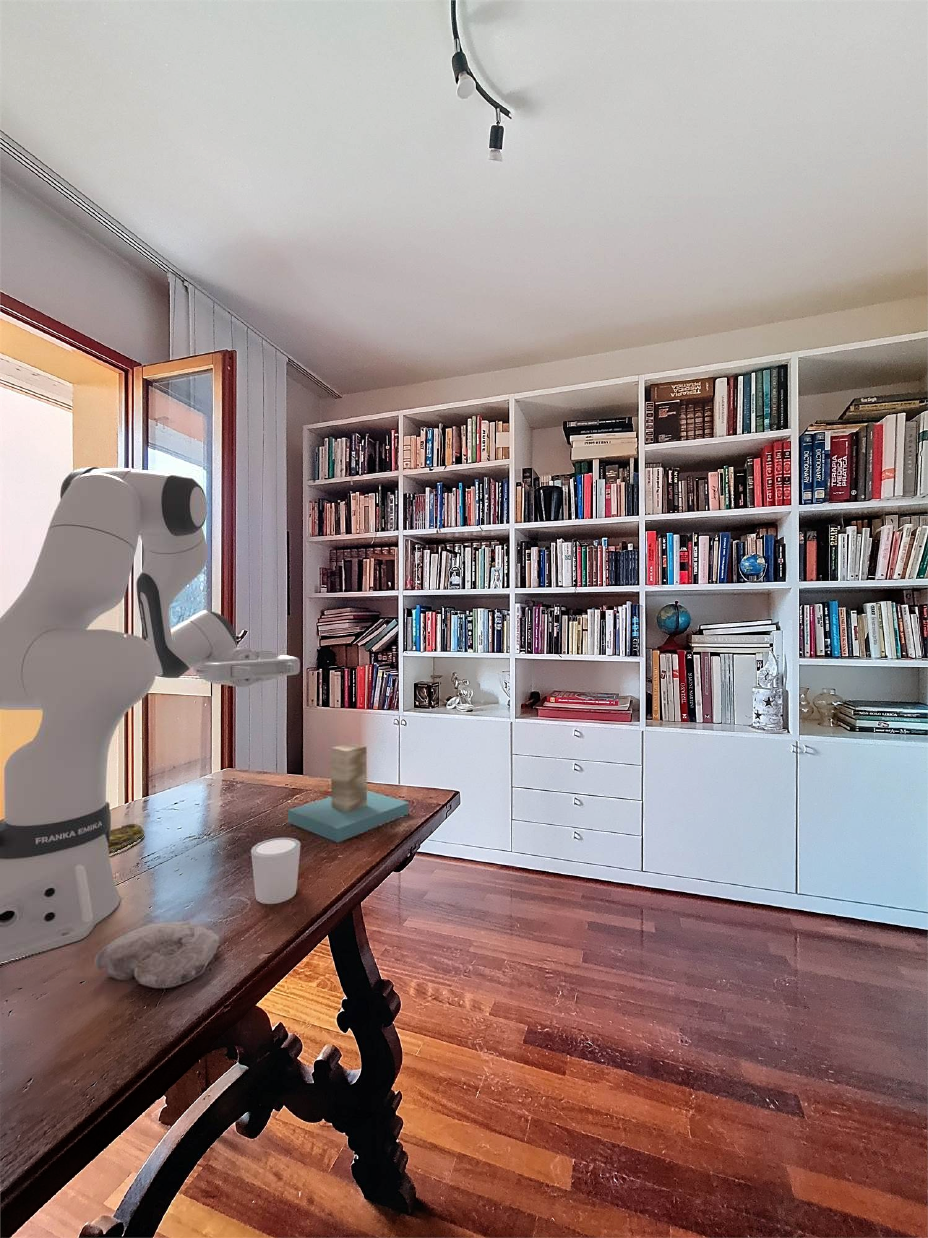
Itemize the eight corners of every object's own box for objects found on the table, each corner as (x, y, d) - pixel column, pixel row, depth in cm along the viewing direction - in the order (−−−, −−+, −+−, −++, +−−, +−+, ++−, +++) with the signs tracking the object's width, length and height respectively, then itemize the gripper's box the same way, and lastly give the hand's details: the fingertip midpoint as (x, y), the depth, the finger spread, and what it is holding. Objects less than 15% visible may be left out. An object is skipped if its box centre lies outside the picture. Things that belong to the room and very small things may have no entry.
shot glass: (291, 906, 75) (291, 856, 75) (242, 906, 75) (242, 856, 75) (307, 882, 81) (306, 836, 81) (262, 882, 82) (262, 836, 82)
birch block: (347, 812, 105) (346, 751, 105) (331, 806, 108) (331, 747, 108) (366, 805, 109) (366, 746, 109) (351, 800, 112) (350, 743, 112)
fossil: (233, 912, 66) (185, 968, 56) (233, 944, 66) (184, 1007, 56) (142, 903, 67) (77, 957, 57) (141, 935, 67) (77, 995, 57)
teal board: (337, 842, 96) (337, 828, 96) (288, 822, 106) (288, 809, 106) (409, 814, 110) (408, 802, 110) (359, 799, 120) (359, 788, 120)
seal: (107, 837, 103) (56, 871, 88) (105, 813, 103) (53, 843, 88) (158, 829, 104) (116, 862, 89) (155, 805, 104) (113, 834, 89)
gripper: (192, 655, 113) (224, 657, 104) (279, 651, 129) (313, 652, 120) (192, 685, 113) (224, 690, 104) (279, 677, 129) (313, 680, 120)
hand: (272, 670), depth 112 cm, fingers open, 8 cm apart
